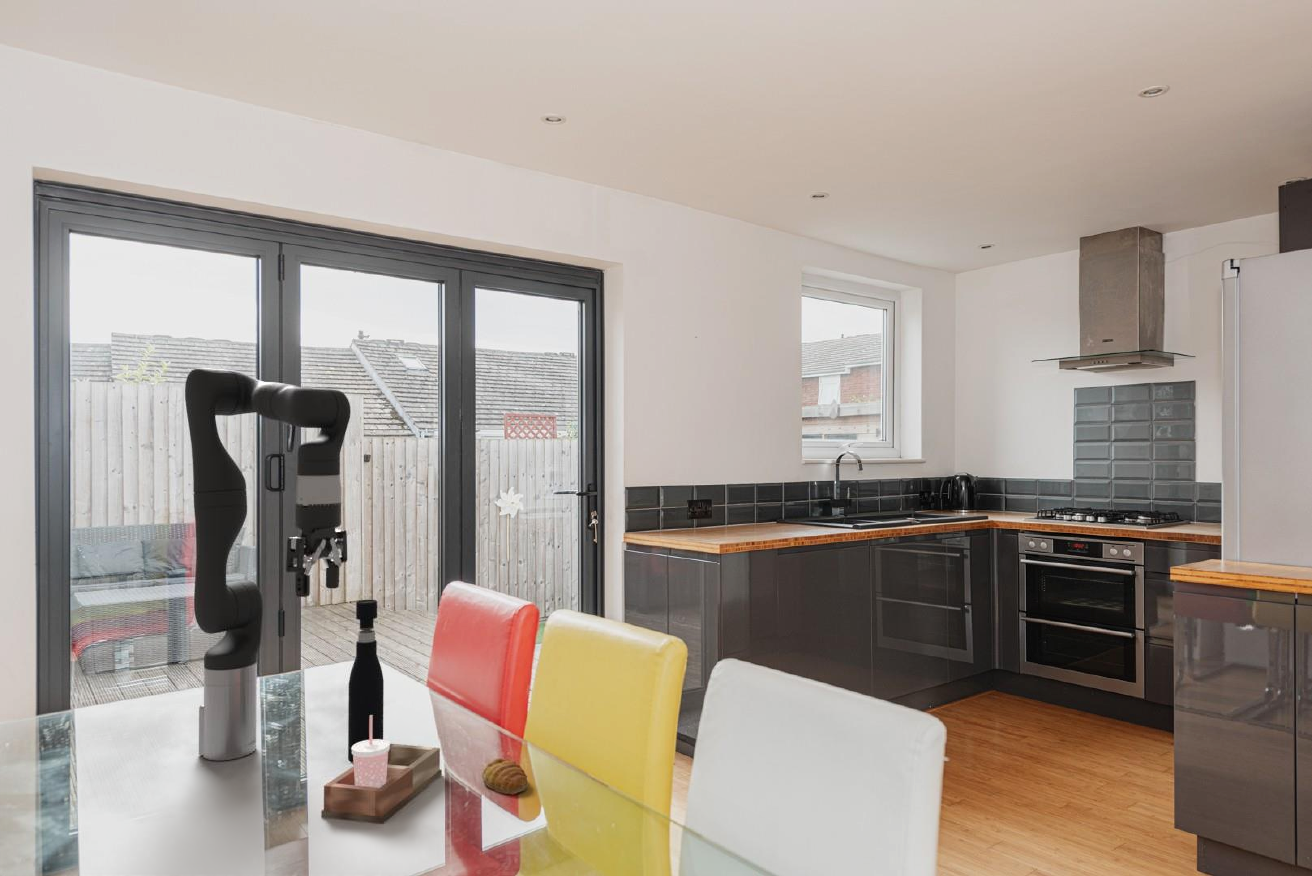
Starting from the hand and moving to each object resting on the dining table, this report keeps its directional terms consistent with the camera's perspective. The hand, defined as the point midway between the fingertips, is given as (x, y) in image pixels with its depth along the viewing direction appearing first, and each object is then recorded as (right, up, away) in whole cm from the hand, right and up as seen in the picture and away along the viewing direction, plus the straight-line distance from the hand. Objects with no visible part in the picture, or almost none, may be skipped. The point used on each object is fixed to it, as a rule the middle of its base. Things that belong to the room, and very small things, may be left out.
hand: (317, 592), depth 147 cm
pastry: (+33, -35, 0) cm, 48 cm away
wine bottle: (+4, -35, +13) cm, 37 cm away
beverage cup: (+12, -33, -9) cm, 36 cm away
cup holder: (+13, -34, -4) cm, 37 cm away
